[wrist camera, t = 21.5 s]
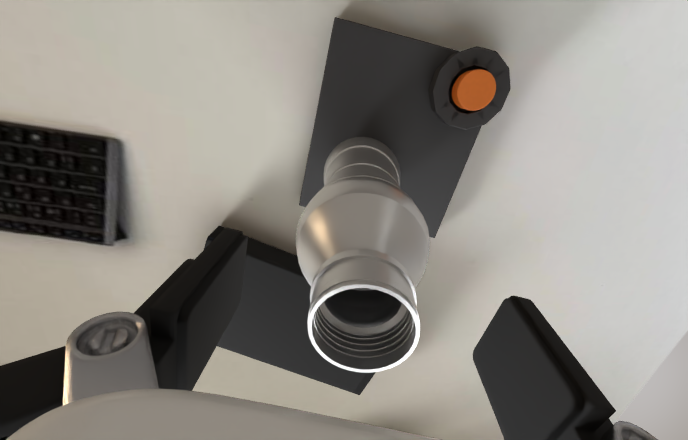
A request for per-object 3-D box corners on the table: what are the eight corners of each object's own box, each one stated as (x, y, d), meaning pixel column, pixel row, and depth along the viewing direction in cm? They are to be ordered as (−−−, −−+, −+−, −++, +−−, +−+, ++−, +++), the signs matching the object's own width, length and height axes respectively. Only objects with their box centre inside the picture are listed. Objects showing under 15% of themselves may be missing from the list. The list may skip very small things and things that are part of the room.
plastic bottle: (341, 211, 29) (311, 416, 11) (315, 146, 27) (221, 273, 9) (405, 191, 28) (486, 383, 10) (384, 120, 26) (442, 206, 8)
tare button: (459, 66, 23) (466, 64, 21) (494, 75, 23) (503, 74, 21) (445, 104, 24) (451, 105, 22) (479, 113, 24) (486, 114, 23)
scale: (337, 15, 24) (334, 6, 21) (505, 61, 25) (523, 59, 22) (301, 200, 31) (295, 211, 28) (435, 232, 31) (441, 246, 29)
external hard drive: (358, 375, 41) (358, 396, 38) (193, 316, 38) (180, 334, 35) (409, 299, 35) (414, 318, 32) (219, 224, 32) (206, 237, 30)
